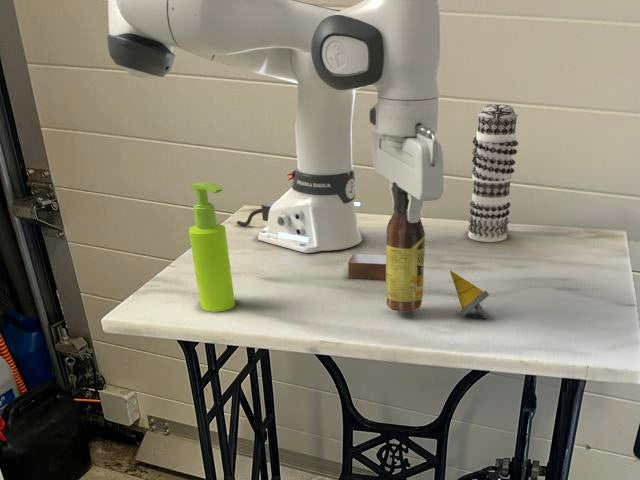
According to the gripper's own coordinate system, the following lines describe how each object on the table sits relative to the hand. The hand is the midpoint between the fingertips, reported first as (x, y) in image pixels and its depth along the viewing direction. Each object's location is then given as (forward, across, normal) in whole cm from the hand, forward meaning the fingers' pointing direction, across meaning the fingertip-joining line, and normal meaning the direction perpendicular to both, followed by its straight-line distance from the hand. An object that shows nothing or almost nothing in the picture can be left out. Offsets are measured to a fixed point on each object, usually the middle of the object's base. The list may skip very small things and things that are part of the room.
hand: (405, 216), depth 115 cm
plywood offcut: (+16, +20, -1) cm, 25 cm away
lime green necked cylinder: (+16, +14, +29) cm, 36 cm away
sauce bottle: (+15, 0, 0) cm, 15 cm away
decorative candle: (+16, +33, -33) cm, 50 cm away
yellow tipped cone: (+16, -5, -10) cm, 19 cm away
